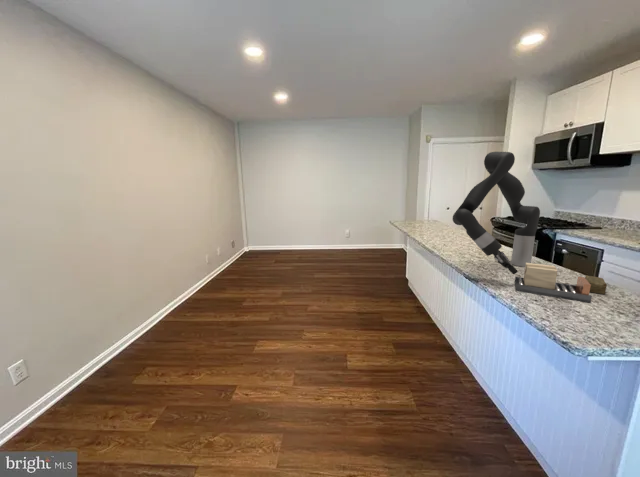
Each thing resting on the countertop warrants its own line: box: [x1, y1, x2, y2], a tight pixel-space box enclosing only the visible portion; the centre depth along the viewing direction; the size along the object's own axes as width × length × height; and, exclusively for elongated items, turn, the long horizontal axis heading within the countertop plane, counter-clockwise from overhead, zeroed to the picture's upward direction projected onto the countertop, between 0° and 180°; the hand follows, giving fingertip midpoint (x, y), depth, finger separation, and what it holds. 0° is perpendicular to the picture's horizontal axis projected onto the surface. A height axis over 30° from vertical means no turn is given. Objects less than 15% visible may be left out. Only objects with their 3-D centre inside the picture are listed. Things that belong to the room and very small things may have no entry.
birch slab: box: [523, 262, 558, 289], centre depth 119 cm, size 8×10×8 cm
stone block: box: [584, 275, 607, 295], centre depth 120 cm, size 6×12×5 cm, turn 143°
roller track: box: [514, 276, 593, 304], centre depth 118 cm, size 12×24×7 cm, turn 57°
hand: (515, 272), depth 124 cm, fingers closed
